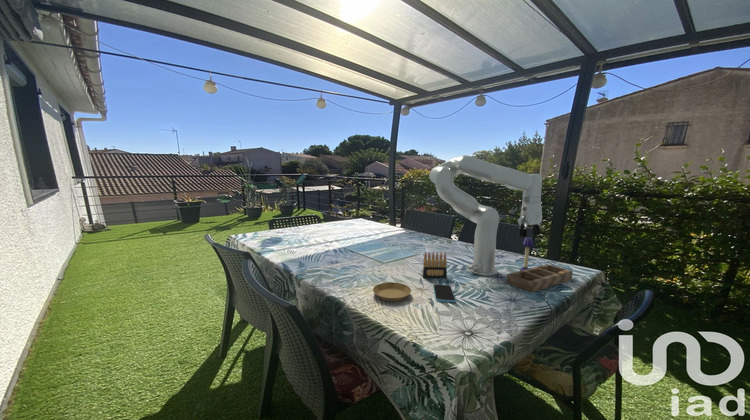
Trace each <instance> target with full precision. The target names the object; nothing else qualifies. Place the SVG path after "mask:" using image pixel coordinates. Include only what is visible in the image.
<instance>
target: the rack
mask: <svg viewBox="0 0 750 420" xmlns="http://www.w3.org/2000/svg"><path fill="white" fill-rule="evenodd" d="M572 280H573V271H572V270H569V269H566V268H562V267H559V266H555V265H551V264H549V263H548V264H547V263H546V264H542V265H539V266H534V267H530V268H529V269H526V270H522V271H520V270H518V271H515V272H510V273H507V274H506V284H509V285H511V286H514V287H515V288H517V289H521V290H524V291H527V292H529V293H535V292H538V291H542V290H545V289H548V288H550V287H554V286H556V285H560V284H563V283H566V282H568V281H572Z"/></svg>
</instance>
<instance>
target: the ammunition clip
mask: <svg viewBox="0 0 750 420" xmlns="http://www.w3.org/2000/svg"><path fill="white" fill-rule="evenodd" d="M447 265H448V263H447V252H444V254H443V252H442V251H440V253H439V252H438V251H437V252H436V253H435V252H434V251H433V252H432V254H431V252H430V251H429V252H428V255H427V252H426V251H425V252H424V254H423V265H422V278H423V279H447V278H448V275H447V273H448V272H447V271H448V269H447V268H448V267H447Z"/></svg>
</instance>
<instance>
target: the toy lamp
mask: <svg viewBox="0 0 750 420" xmlns="http://www.w3.org/2000/svg"><path fill="white" fill-rule="evenodd" d="M522 246H524V247H525V250H524V258H523V266H522V267H521V268H520V269H519V271H522V270H526V269H530V268H529V267H528V266H529V265H528V264H529V258H530V257H529V256H530V248H533V247H534V240H533V238H532V237H530V236H528V237H526V238H525V237H524V240H523V242H522Z"/></svg>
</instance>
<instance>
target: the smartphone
mask: <svg viewBox="0 0 750 420" xmlns="http://www.w3.org/2000/svg"><path fill="white" fill-rule="evenodd" d="M432 287H433V291H434V292H433V294H434V298H435V301H436V302H440V303H456V300H457V299H456V297H455V295H454V292H453V289H452V286H451V285H448V284H433V286H432Z"/></svg>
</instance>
